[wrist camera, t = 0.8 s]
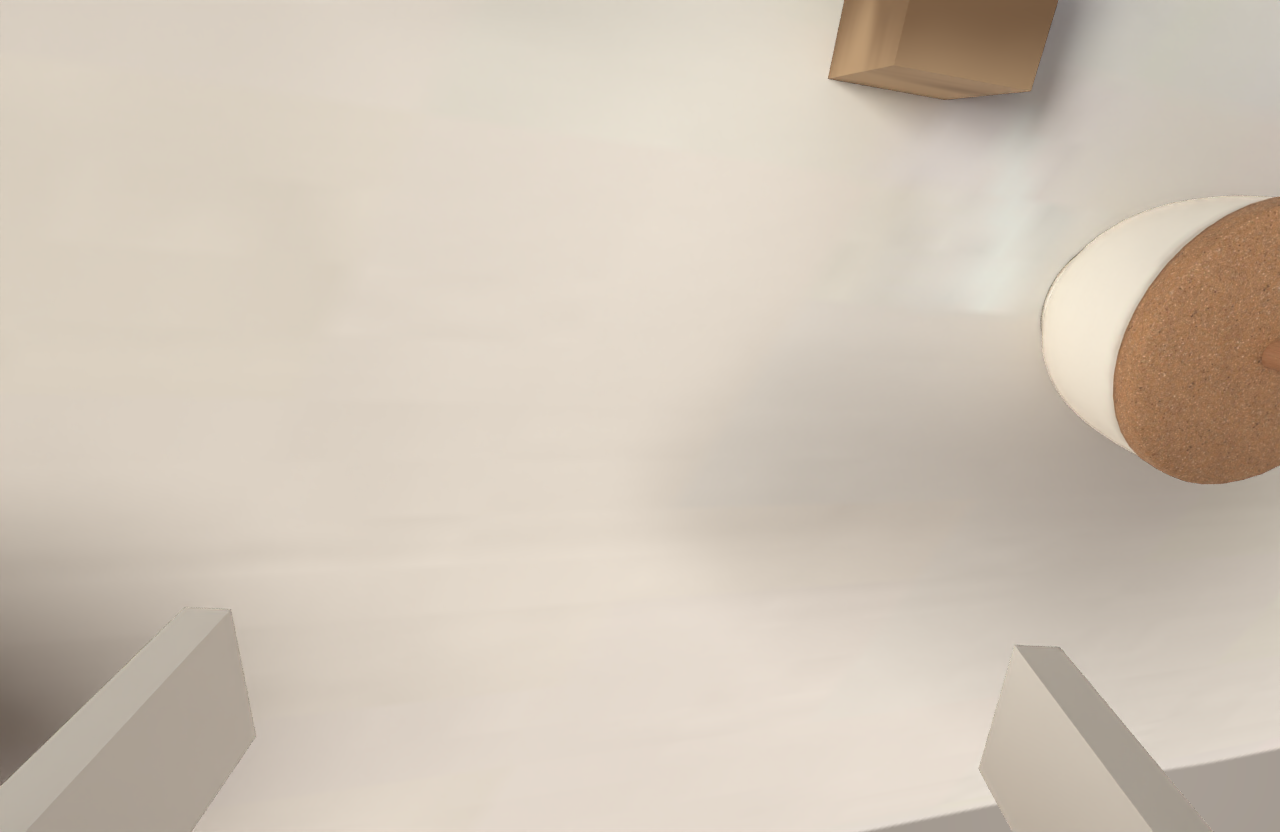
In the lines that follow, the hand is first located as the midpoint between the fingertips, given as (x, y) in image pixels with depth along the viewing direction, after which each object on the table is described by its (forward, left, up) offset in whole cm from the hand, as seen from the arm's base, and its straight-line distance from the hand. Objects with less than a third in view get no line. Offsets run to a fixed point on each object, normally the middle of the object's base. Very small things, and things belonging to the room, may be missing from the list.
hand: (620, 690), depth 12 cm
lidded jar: (-5, +25, -18) cm, 31 cm away
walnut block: (-15, +12, -18) cm, 26 cm away
